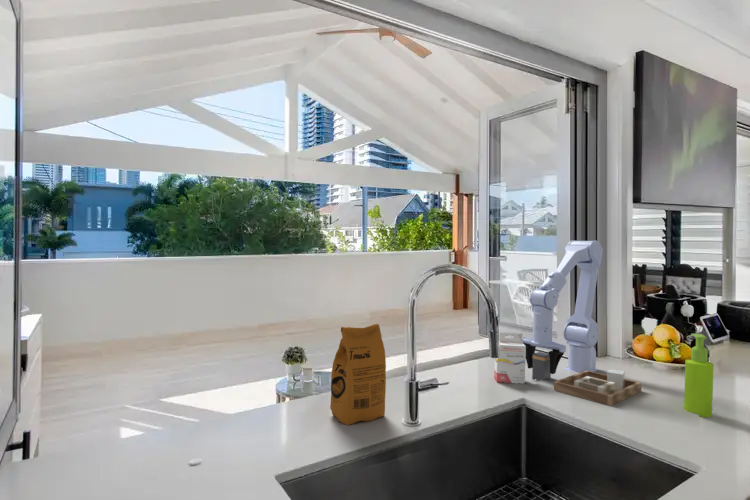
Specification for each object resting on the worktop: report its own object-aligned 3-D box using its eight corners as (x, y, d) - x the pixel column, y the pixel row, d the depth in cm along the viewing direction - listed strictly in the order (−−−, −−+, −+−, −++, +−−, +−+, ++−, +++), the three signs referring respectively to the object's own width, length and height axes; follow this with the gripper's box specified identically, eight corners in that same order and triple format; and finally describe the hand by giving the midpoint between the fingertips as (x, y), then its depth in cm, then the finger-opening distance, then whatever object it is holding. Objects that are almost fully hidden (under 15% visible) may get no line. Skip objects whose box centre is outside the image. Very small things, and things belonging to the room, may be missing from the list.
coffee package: (325, 413, 112) (327, 324, 112) (369, 405, 119) (371, 320, 118) (343, 428, 104) (345, 331, 103) (390, 418, 110) (391, 326, 110)
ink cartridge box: (496, 382, 140) (497, 334, 140) (494, 378, 145) (495, 331, 145) (525, 384, 139) (526, 335, 139) (521, 379, 144) (522, 332, 144)
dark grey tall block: (538, 376, 147) (539, 351, 147) (550, 379, 144) (551, 354, 144) (531, 378, 145) (532, 353, 145) (543, 381, 142) (544, 356, 142)
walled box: (586, 379, 145) (586, 368, 145) (641, 393, 133) (641, 381, 132) (553, 392, 132) (553, 380, 132) (611, 408, 120) (611, 394, 120)
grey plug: (608, 385, 137) (609, 369, 137) (624, 388, 135) (624, 371, 135) (606, 389, 134) (607, 372, 134) (622, 391, 131) (622, 374, 131)
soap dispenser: (705, 409, 120) (708, 333, 120) (715, 418, 114) (718, 338, 113) (679, 406, 122) (681, 331, 122) (688, 415, 116) (690, 336, 115)
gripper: (515, 325, 147) (514, 367, 147) (558, 332, 136) (556, 378, 136) (527, 323, 152) (526, 364, 152) (569, 330, 141) (568, 374, 141)
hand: (541, 370), depth 144 cm, fingers open, 7 cm apart
